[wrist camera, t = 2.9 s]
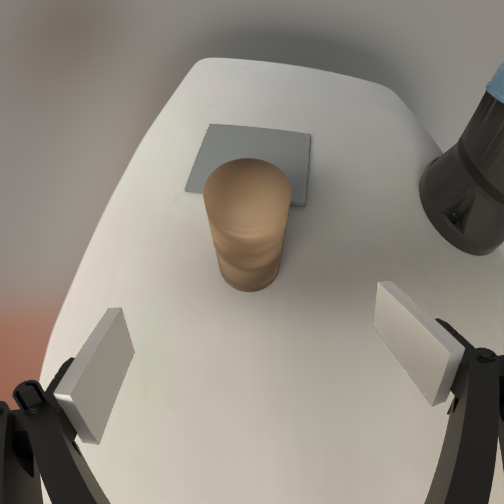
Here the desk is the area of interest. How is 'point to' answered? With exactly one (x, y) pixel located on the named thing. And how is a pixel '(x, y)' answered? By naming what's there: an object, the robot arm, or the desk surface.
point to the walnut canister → (248, 220)
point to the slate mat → (253, 155)
